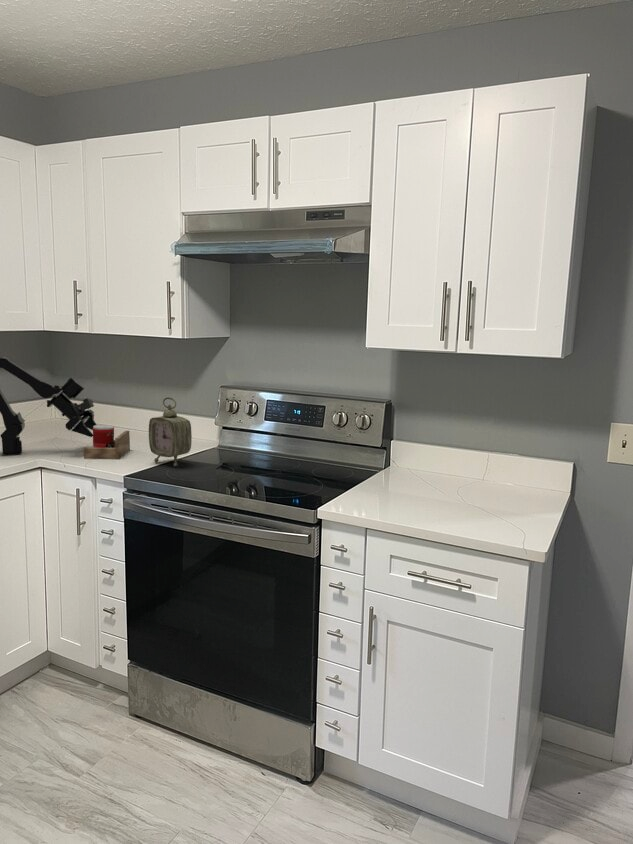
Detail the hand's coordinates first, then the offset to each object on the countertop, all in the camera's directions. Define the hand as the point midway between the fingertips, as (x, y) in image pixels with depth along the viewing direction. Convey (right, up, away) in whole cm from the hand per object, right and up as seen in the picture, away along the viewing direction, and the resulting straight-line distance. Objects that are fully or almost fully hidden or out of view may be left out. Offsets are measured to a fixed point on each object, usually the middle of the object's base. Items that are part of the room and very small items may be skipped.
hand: (96, 434), depth 256 cm
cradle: (+5, -8, -3) cm, 9 cm away
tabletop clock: (+34, -11, -16) cm, 39 cm away
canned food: (+4, -8, -3) cm, 9 cm away
